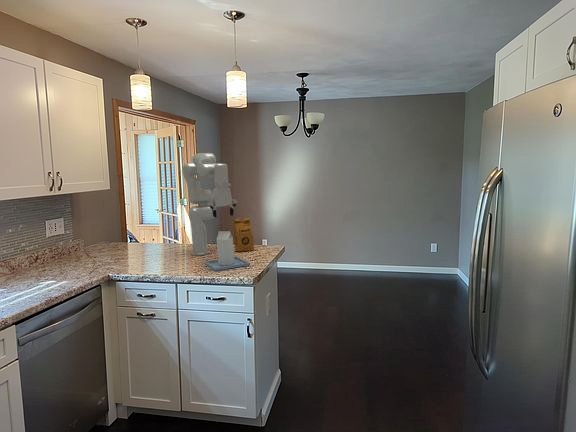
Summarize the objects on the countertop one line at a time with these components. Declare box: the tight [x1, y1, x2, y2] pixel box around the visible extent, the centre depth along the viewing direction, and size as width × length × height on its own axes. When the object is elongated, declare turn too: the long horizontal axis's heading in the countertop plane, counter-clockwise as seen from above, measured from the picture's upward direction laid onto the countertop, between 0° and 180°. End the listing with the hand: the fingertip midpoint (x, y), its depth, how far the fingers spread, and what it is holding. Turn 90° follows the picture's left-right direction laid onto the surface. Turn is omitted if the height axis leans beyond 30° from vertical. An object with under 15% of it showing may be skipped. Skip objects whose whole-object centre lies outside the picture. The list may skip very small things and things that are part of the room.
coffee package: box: [233, 217, 255, 253], centre depth 261 cm, size 10×12×22 cm
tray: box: [204, 256, 251, 272], centre depth 223 cm, size 20×20×2 cm
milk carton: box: [216, 230, 235, 265], centre depth 223 cm, size 7×7×19 cm
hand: (223, 216), depth 221 cm, fingers open, 9 cm apart
